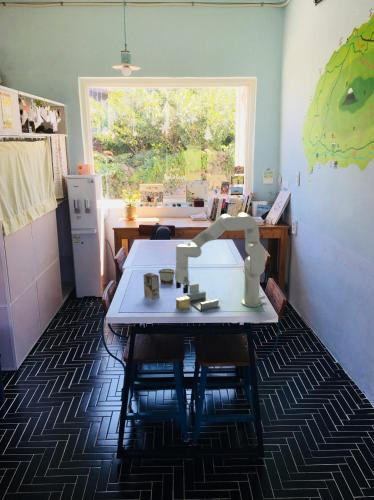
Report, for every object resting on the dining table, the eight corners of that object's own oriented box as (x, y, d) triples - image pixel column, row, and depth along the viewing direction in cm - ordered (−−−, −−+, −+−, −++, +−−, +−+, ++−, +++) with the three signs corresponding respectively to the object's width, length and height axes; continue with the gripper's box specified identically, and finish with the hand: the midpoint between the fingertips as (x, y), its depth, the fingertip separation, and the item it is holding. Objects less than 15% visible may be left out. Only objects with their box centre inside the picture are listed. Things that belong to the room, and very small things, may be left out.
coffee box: (159, 297, 279) (159, 275, 275) (152, 300, 275) (151, 277, 270) (151, 294, 285) (150, 272, 281) (143, 297, 281) (142, 274, 277)
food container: (177, 281, 309) (176, 269, 306) (174, 284, 303) (174, 271, 301) (161, 280, 312) (161, 268, 310) (158, 283, 307) (158, 270, 304)
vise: (204, 296, 279) (204, 290, 278) (219, 307, 262) (219, 299, 261) (185, 300, 273) (185, 293, 272) (200, 311, 256) (200, 304, 255)
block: (187, 306, 265) (187, 296, 263) (190, 308, 261) (190, 298, 260) (176, 308, 261) (175, 298, 259) (179, 310, 258) (178, 300, 256)
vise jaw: (201, 294, 280) (201, 282, 278) (205, 297, 275) (205, 284, 273) (185, 297, 275) (185, 285, 272) (189, 301, 270) (189, 288, 267)
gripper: (170, 261, 259) (170, 287, 264) (183, 269, 244) (183, 296, 249) (181, 260, 263) (181, 285, 267) (194, 267, 248) (193, 294, 252)
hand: (182, 290), depth 258 cm, fingers open, 9 cm apart
